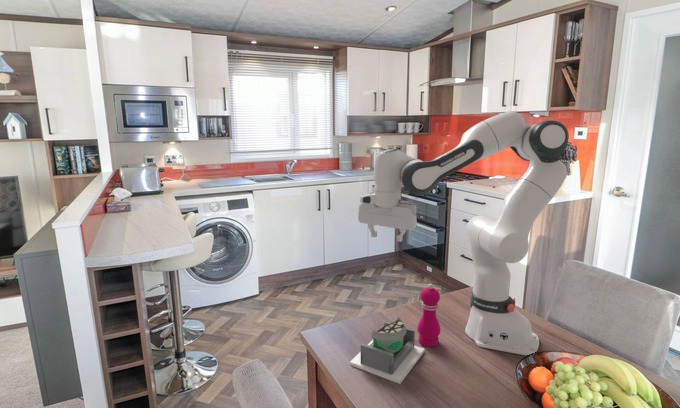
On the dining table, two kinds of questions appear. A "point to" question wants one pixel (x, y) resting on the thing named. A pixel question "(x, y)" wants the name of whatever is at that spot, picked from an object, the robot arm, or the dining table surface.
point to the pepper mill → (429, 317)
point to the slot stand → (389, 358)
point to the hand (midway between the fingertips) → (386, 239)
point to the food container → (390, 337)
